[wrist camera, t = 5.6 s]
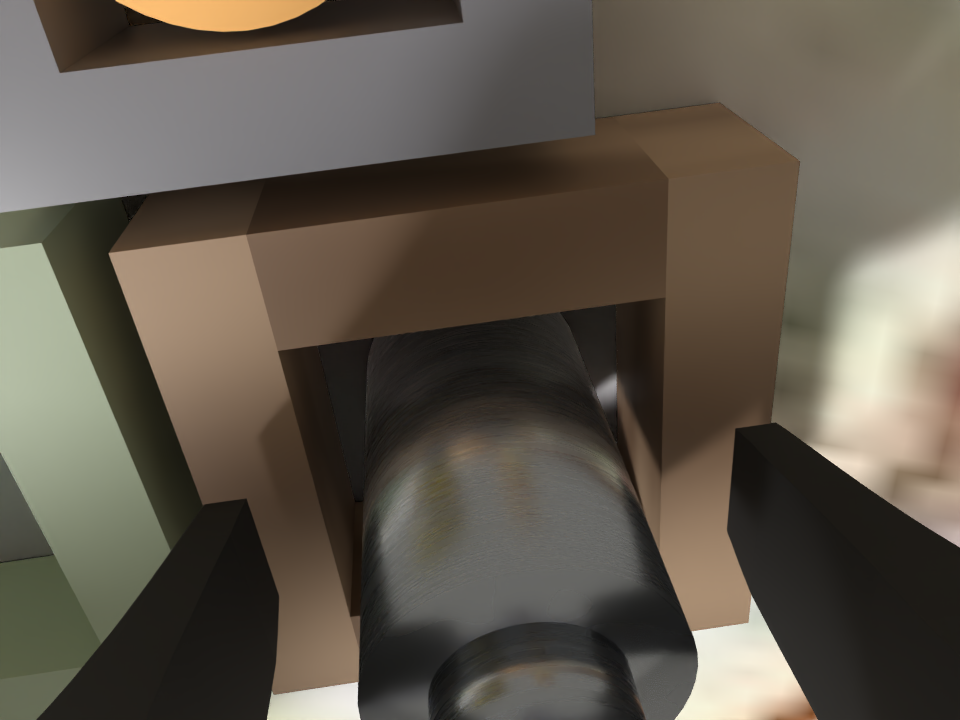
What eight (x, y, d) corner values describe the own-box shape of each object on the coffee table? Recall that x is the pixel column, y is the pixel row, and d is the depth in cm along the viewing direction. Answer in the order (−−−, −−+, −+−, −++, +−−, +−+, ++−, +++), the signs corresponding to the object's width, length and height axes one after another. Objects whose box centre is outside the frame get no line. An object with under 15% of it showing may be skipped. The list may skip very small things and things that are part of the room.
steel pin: (580, 440, 17) (718, 842, 10) (385, 468, 16) (388, 895, 10) (572, 261, 14) (741, 619, 8) (348, 292, 14) (319, 684, 8)
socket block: (696, 514, 18) (748, 622, 15) (289, 574, 18) (273, 694, 15) (719, 102, 13) (799, 161, 11) (162, 174, 13) (108, 253, 10)
